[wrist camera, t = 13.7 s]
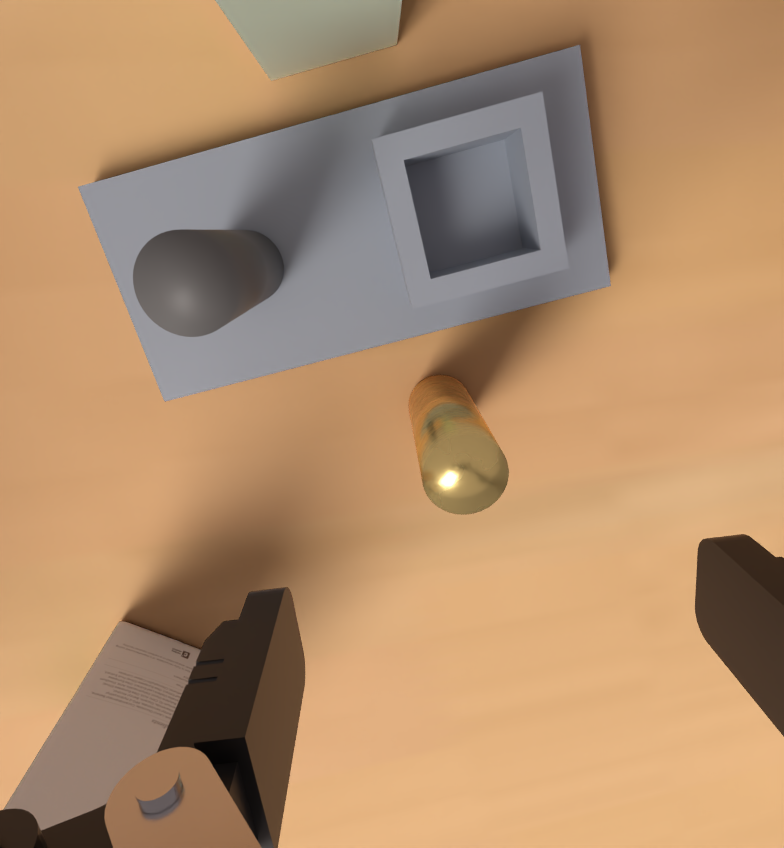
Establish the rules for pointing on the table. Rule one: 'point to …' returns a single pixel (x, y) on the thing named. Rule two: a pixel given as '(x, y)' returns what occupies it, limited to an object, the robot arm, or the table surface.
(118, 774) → the skincare box
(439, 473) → the brass pin
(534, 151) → the board
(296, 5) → the block
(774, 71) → the table surface
